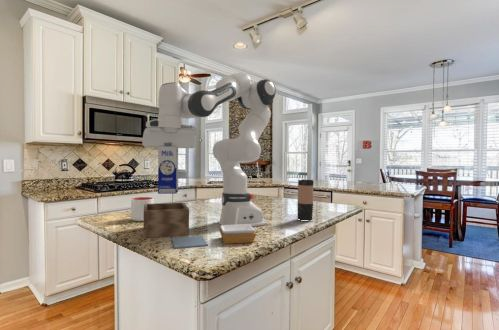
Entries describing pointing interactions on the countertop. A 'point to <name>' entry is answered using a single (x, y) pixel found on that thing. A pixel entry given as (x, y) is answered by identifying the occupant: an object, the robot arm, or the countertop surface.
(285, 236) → the countertop surface
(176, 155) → the milk carton
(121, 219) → the countertop surface
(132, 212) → the cup
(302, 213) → the travel mug
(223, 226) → the soap dish
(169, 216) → the crate
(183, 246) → the mat
